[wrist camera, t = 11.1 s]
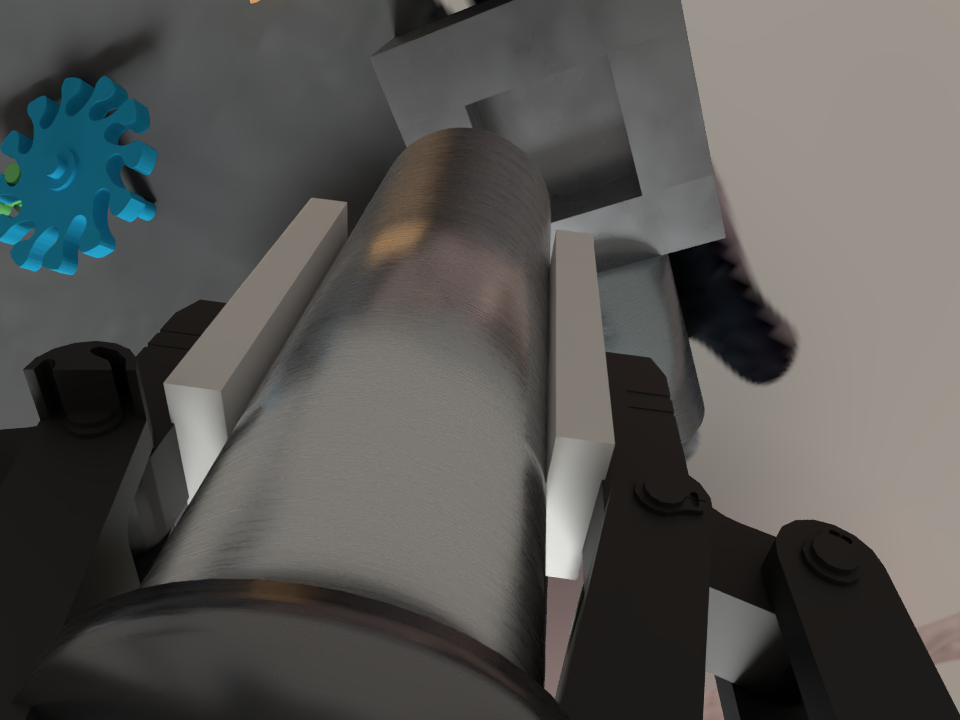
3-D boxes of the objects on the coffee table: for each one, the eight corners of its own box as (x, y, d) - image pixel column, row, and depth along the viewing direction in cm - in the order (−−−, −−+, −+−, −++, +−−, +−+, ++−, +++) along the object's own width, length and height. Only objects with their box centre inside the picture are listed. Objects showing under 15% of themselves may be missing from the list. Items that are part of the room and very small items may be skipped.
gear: (141, 45, 32) (122, 252, 30) (229, 111, 37) (217, 289, 35) (-26, 94, 35) (-53, 281, 33) (76, 147, 41) (58, 310, 39)
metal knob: (364, 289, 19) (82, 881, 8) (365, 97, 16) (-91, 592, 5) (549, 313, 19) (541, 949, 8) (583, 124, 16) (653, 695, 5)
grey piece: (394, 37, 32) (356, 67, 26) (654, -67, 29) (676, -59, 23) (537, 402, 43) (533, 481, 37) (738, 357, 40) (767, 435, 34)
